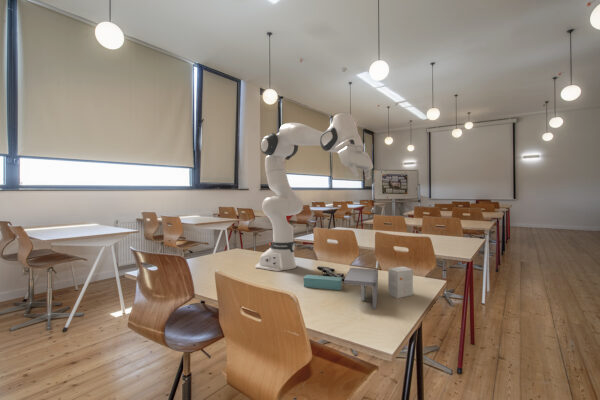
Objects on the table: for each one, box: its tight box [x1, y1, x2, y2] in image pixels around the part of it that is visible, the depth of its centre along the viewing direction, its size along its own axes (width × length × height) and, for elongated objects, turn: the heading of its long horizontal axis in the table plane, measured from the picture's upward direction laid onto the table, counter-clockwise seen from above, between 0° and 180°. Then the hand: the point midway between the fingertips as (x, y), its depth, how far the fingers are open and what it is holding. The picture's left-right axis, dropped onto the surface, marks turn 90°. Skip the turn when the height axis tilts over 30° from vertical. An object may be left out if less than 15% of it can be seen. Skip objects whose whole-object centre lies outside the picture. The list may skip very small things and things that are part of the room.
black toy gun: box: [317, 265, 346, 283], centre depth 148 cm, size 27×2×10 cm
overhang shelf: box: [343, 267, 379, 310], centre depth 115 cm, size 11×18×10 cm, turn 163°
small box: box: [387, 265, 414, 299], centre depth 119 cm, size 8×6×10 cm
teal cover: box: [303, 274, 343, 291], centre depth 130 cm, size 16×5×4 cm, turn 73°
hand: (362, 177), depth 121 cm, fingers open, 8 cm apart
